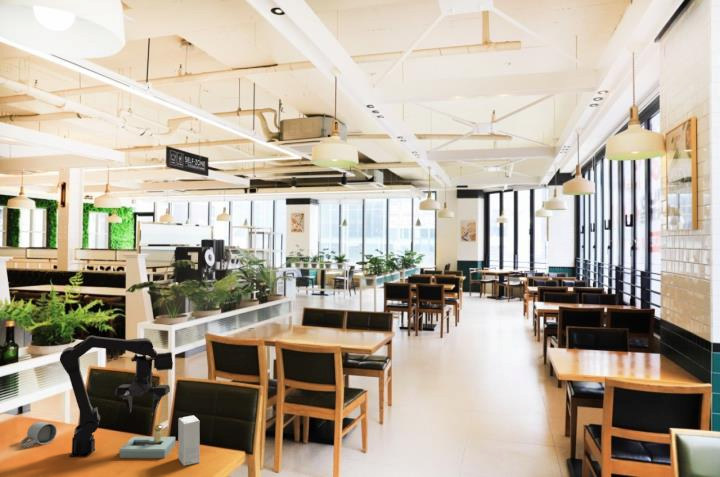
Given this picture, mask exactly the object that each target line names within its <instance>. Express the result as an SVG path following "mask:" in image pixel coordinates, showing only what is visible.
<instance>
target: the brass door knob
mask: <svg viewBox="0 0 720 477" xmlns="http://www.w3.org/2000/svg"><path fill="white" fill-rule="evenodd" d="M163 428H164V425H163V424H155V425H154V426H153V428H152V429H153V430H154V432H153V434H154V435H153V437H154V445H161V437H162V429H163Z"/></svg>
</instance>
